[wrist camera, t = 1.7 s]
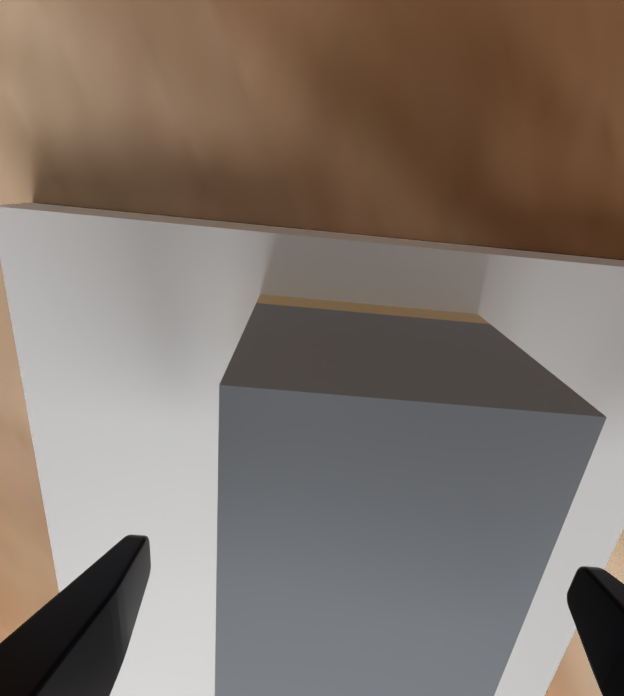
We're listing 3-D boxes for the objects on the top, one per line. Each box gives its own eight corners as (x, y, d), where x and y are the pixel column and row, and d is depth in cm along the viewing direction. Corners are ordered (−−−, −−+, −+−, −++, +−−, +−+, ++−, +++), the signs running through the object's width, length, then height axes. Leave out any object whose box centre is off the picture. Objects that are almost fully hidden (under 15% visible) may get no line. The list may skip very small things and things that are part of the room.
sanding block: (413, 573, 14) (463, 769, 9) (246, 562, 14) (213, 757, 9) (477, 313, 11) (606, 417, 6) (259, 294, 10) (219, 385, 6)
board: (492, 733, 20) (506, 775, 18) (104, 712, 19) (87, 754, 18) (691, 267, 12) (742, 278, 10) (31, 202, 11) (-9, 206, 10)
